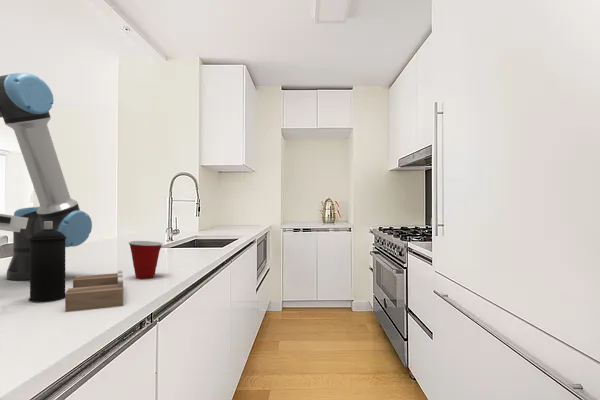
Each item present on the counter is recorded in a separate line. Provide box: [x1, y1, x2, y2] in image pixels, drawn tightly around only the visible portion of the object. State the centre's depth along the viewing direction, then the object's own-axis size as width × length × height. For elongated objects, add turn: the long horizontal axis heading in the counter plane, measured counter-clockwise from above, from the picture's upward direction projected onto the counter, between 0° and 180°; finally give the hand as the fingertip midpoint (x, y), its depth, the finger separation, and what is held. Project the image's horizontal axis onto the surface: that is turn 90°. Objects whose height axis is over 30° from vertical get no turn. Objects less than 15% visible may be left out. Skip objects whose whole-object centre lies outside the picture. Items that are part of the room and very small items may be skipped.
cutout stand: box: [64, 270, 124, 312], centre depth 103 cm, size 24×12×5 cm, turn 25°
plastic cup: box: [128, 240, 164, 280], centre depth 130 cm, size 11×11×12 cm
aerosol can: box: [28, 221, 67, 303], centre depth 102 cm, size 8×8×20 cm
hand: (23, 225), depth 100 cm, fingers open, 13 cm apart
